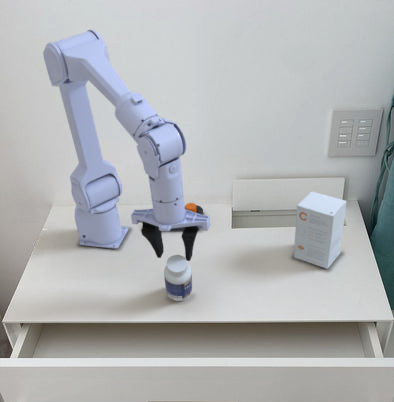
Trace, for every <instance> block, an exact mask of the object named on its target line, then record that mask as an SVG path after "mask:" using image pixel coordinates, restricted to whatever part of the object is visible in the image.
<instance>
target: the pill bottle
mask: <svg viewBox="0 0 394 402" xmlns="http://www.w3.org/2000/svg"><path fill="white" fill-rule="evenodd" d="M163 276H164V284H165V285H164V286H165V292H166V295H167V296H168V298H169V299H171V300H173V301H175V302H183V301H185V300H187V299H189V297H191V295H192V293H193V272H192V267H191V265H190V264H189V263H188V261H187V260H186V257H184V255H180V254H174V255H171V256H170V257H168V259H167V260H166V265H165V267H164V269H163Z"/></svg>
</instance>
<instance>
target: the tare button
mask: <svg viewBox="0 0 394 402" xmlns="http://www.w3.org/2000/svg"><path fill="white" fill-rule="evenodd" d="M184 205H185V210H189V211H192V212H195V213H197V208H196V205H197V204H196V203H194V202H189V203H186V204H184Z"/></svg>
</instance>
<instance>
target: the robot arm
mask: <svg viewBox="0 0 394 402" xmlns="http://www.w3.org/2000/svg"><path fill="white" fill-rule="evenodd" d="M42 54H43V59H44V60H43V61H44V64H45V68H46V71H47V74H48V78H49V79H48V80H49V81H50V84H51V86H52V87H57V88H58V89H59V92H60V97H61V100H62V104H63V107H64V108H63V109H64V111H65V115H66V119H67V122H68V126H69V130H70V135H71V138H72V141H73V146H74V148H75V153H76V156H77V160H78V164H77V166H76V167H75V169H74V170H73V171H72V173H71V174H70V175H69V181H70V186H71V189H70V192H71V196H72V199H73V201H74V203H75V208H74V222H75V226H76V229H77V233H78V236H79V240H80V241H79V245H80V246H86V247H87V246H88V247H95V248H96V247H97V248H105V249H115V250H116V249H118V248H119V247H120V246H121V244H122V242H123V240H124V238H125V236H126V235H127V233H128V232H129V227H128V226H122V224H121V219H120V213H119V209H118V208H119V207H118V203H119V202H120V198H119V197H120V196H121V195H122V194H123V184H122V181H121V178H120V177H119V175H118V172H117V169H116V166H115V165H113V163H111V162H110V161H108V160H106V159H103V154H102V150H101V145H100V141H99V136H98V133H97V129H96V125H95V124H96V123H95V119H94V116H93V111H92V106H91V103H90V98H89V94H88V90H87V83H88V82H90V84H92V85H93V86H94V87H95V88H96V89H97V90H98V91H99V92H100V93H101V95H103V97H104V98H106V99H107V101H109V103H110V104H112V106H114V107H115V109H114V116H115V119H116V120H117V121H118V122H119V124H120V125H121V126H122V128H123V129H124V130H125V131H126V132H127V133H128V134H129V136H130V137H131V138H132V139H133V140H134V142H135V143H136V144H137V145H136V149H137V150H136V151H137V153H138V155H139V159H140V160H141V162H142V166H143V171H144V173H145V174H146V175H148V183H149V190H150V198H151V204H152V208H146V209H144V208H143V209H135V208H134V209H133V211H132V213H131V214H130V218H131V224H132V225H138V224H142V228H141V230H140V232H141V235H142V236H143V237H144V239H146V240H147V241H148V243H149V244H150V245H151V248H152V249H153V251H154V253H155V255H156V257H157V258H158V259H161V258H162V256H163V254H164V252H165V250H164V248H165V247H164V242H163V236H162V232H171V231H170V229H171V228H180V227H185V229H184V231H182V232H181V233H182V234H181V239H182V242H183V246H184V254H185V258H186V260H187V262H190V261H191V259H192V258H193V251H194V246H195V241H196V238H197V235H198V232H199V231H200V229H201V230H202V231H204V232H208V231H209V229H210V226H211V216H210V215H205V214H203V215H201V214H198V213H195V212H192V211H189V210H185V205H186V204H185V195H184V185H183V175H182V163H181V158H180V157H182V156H184V155H185V153H186V151H187V141H186V138H185V135H184V133H183V131H182V129H181V127H180V126H179V124H178V123H177V122H175V121H174V120H169V119H168V118H166V117H161V116H160V115H159V114H158V112H157V111H156V110H155V109H154V108H153V106H152V105H151V104H150V103H149V101H147V100H146V98H145V97H144V96H143V95H142V94H141V93H140V92H137V91H136V92H135V91H133V92H131V90H130V89H129V88H128V86H127V85H126V83H125V81H123V79H122V78H121V76H120V75H119V74H118V71H116V69H115V68H114V67H113V65H112V63H111V62H110V57H109V56H110V55H109V51H108V47H107V44H106V42H105V41H104V39H103V37H102V35H101V34H100V33H99V32H98V31H97V30H95V29H94V28H93V29H92V28H90V29H88V30H86V31H85V32H81V33H78V34H75V35H72V36H69V37H65V38H62V39H59V40H55V41H53V42H51V41H50V42H47V43H46V45H45V47H44V49H43V52H42ZM199 228H200V229H199Z"/></svg>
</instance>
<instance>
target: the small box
mask: <svg viewBox="0 0 394 402" xmlns="http://www.w3.org/2000/svg"><path fill="white" fill-rule="evenodd" d="M347 202H348V201H347V200H344V199H342V198H341V199H340V198H337V197H334V196H330V195H327V194H322V193H320V192H317V191H316V192H315V191H312V190H311V191H310V192H309V193H307V195H306V196H305V197H304V198H303V199H302V200H301V201H300V202H299V203H297V204H296V217H295V233H294V249H293V258H294V259H296V260H299V261H303V262H306V263H309V264H311V265H315V266H318V267H321V268H323V269H326V270H327V269H329V268H330V266H331V265H332V264H333V263H334V262H335V261H336V259H337V258H338V257H339V255H341V250H342V244H343V235H344V234H343V233H344V228H345V218H346V212H347Z"/></svg>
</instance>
